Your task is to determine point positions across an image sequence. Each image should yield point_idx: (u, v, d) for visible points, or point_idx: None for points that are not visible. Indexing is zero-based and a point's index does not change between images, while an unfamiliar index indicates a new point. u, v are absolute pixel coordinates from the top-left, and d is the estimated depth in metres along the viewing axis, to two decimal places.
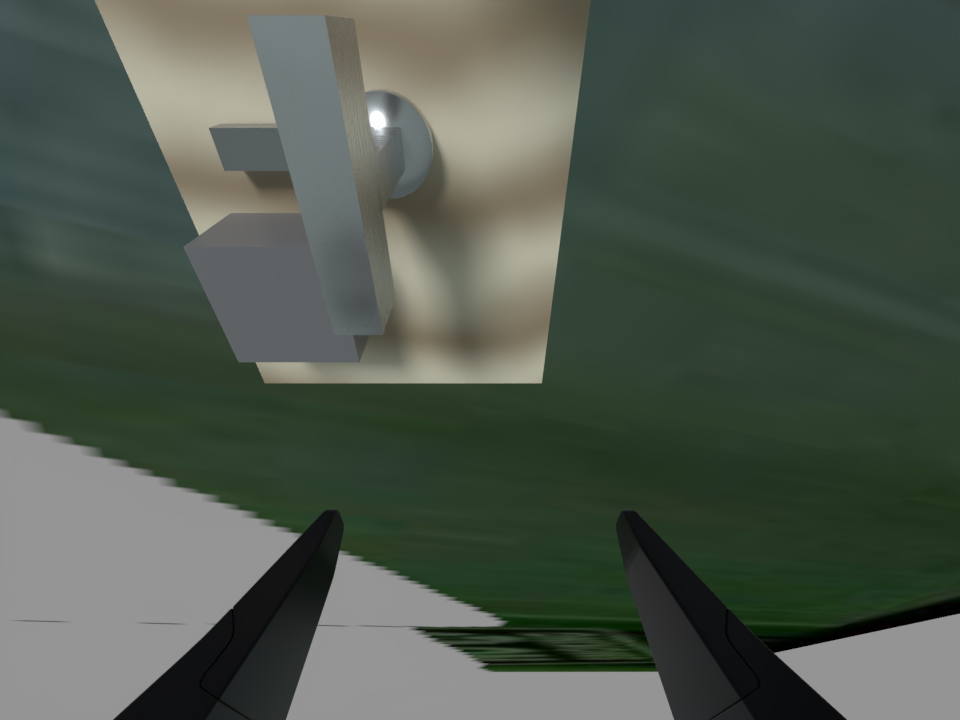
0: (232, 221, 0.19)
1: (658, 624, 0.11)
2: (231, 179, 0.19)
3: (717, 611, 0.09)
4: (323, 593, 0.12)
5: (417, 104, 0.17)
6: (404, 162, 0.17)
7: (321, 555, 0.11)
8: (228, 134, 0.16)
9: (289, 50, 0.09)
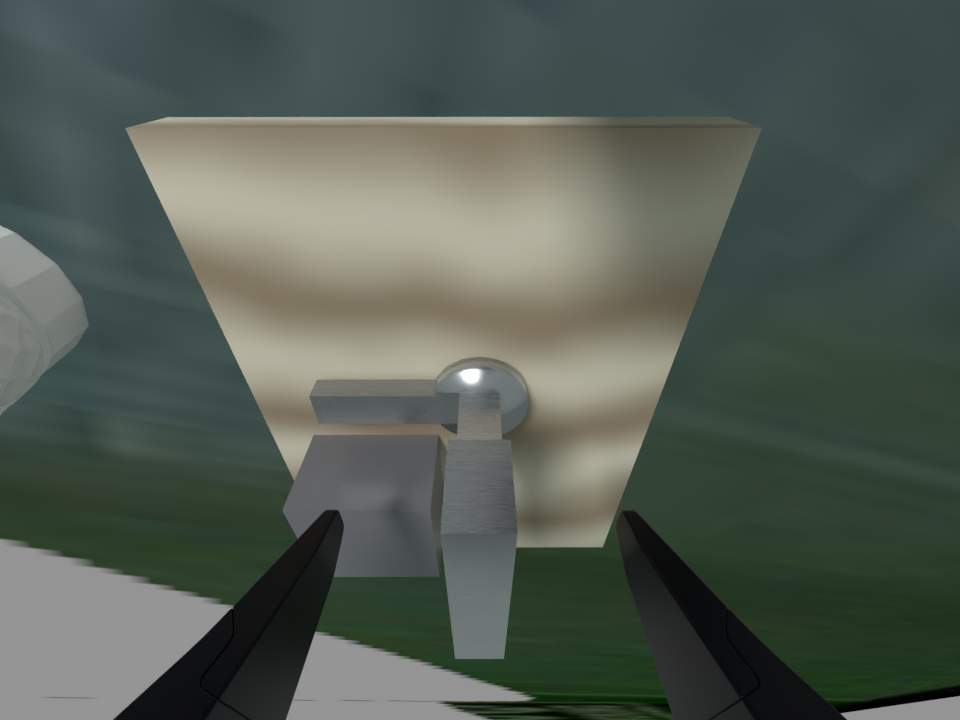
0: (319, 453, 0.19)
1: (658, 624, 0.11)
2: None
3: (717, 611, 0.09)
4: (323, 593, 0.12)
5: (513, 363, 0.17)
6: None
7: (321, 555, 0.11)
8: (327, 400, 0.16)
9: (474, 547, 0.09)
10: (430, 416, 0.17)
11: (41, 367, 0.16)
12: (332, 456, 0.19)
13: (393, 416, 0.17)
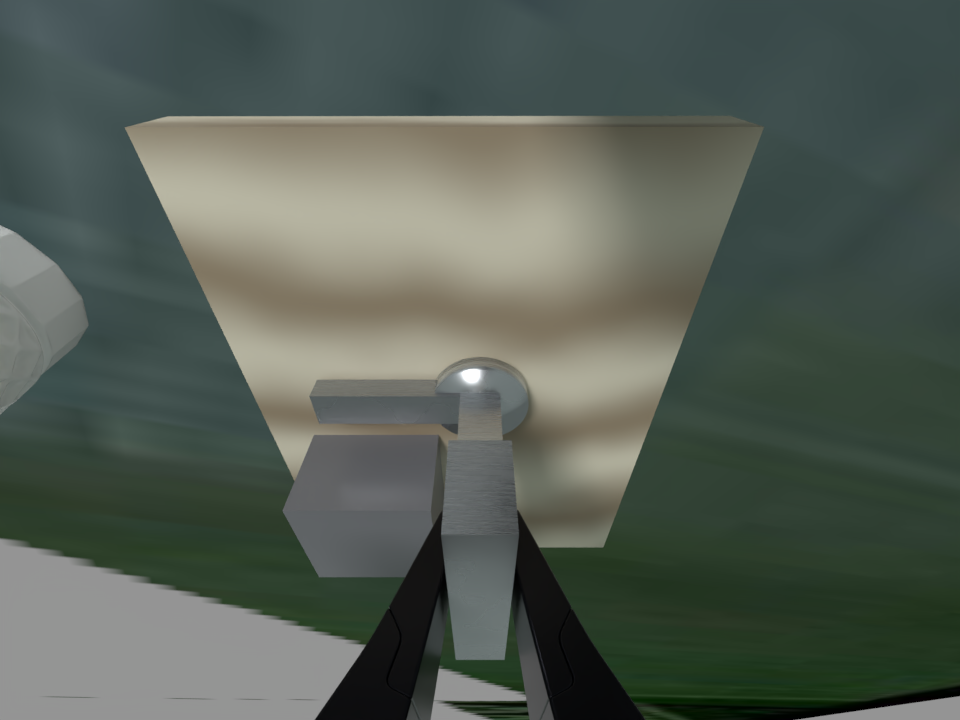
0: (319, 454, 0.19)
1: (518, 624, 0.11)
2: None
3: (559, 611, 0.09)
4: None
5: (514, 363, 0.17)
6: None
7: None
8: (328, 400, 0.16)
9: (475, 548, 0.09)
10: (430, 416, 0.17)
11: (41, 367, 0.16)
12: (332, 456, 0.19)
13: (393, 416, 0.17)
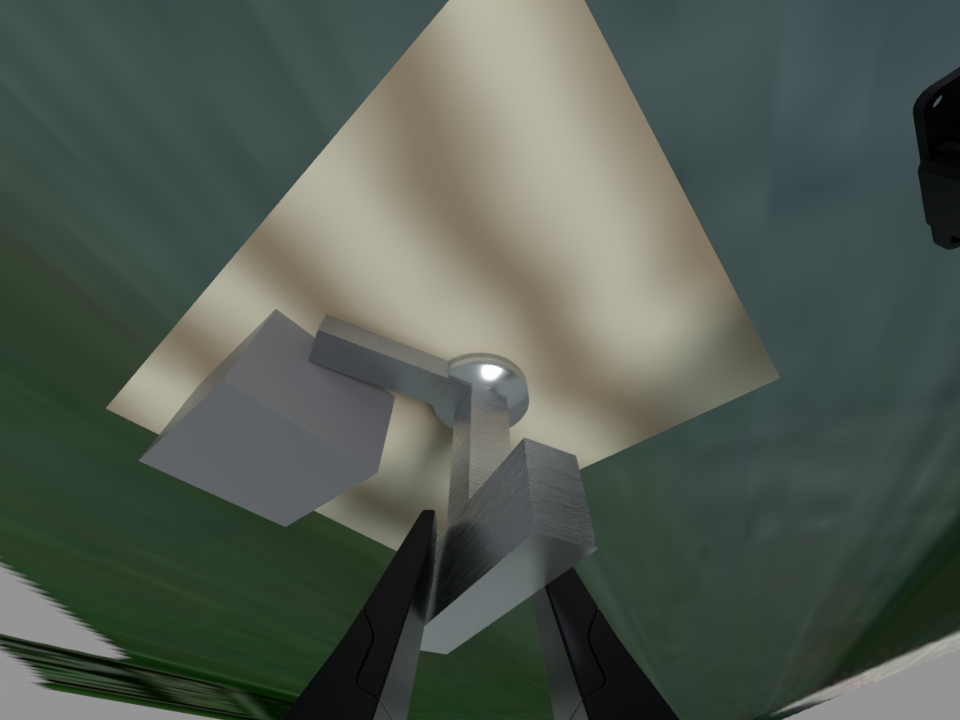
0: (278, 337, 0.15)
1: (542, 624, 0.11)
2: (316, 288, 0.15)
3: (586, 611, 0.09)
4: (428, 593, 0.12)
5: None
6: None
7: (429, 555, 0.11)
8: (335, 341, 0.15)
9: (547, 551, 0.09)
10: (430, 395, 0.16)
11: None
12: (292, 350, 0.15)
13: (394, 382, 0.16)
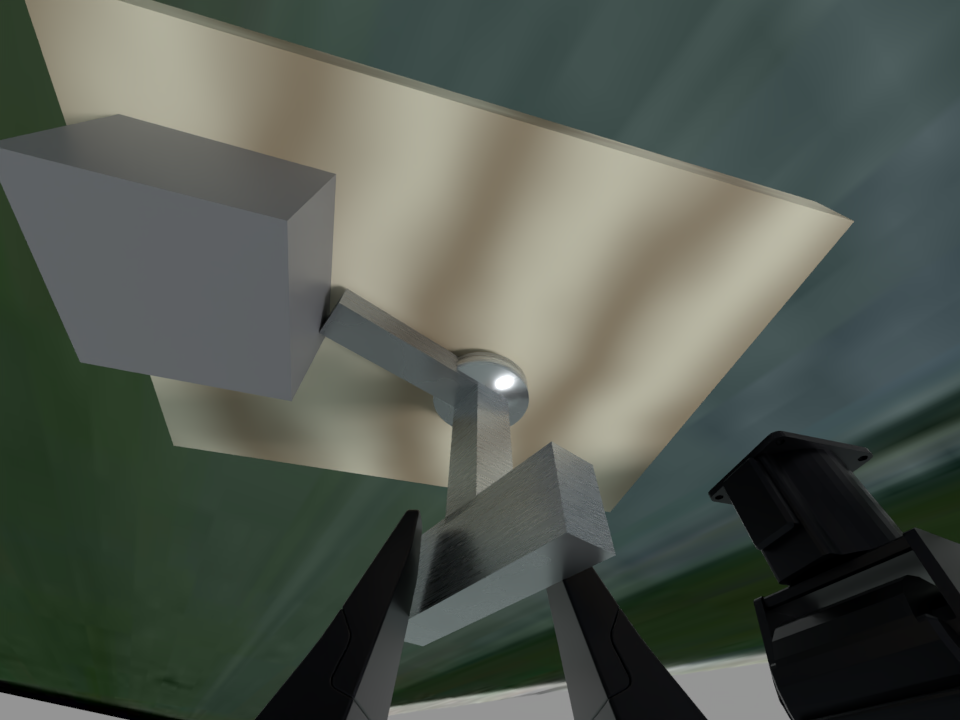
0: (324, 206, 0.12)
1: (561, 624, 0.11)
2: (493, 209, 0.13)
3: (608, 611, 0.09)
4: (411, 593, 0.12)
5: None
6: None
7: (412, 555, 0.11)
8: (354, 317, 0.14)
9: (569, 552, 0.09)
10: (435, 387, 0.16)
11: None
12: (321, 229, 0.12)
13: (401, 368, 0.16)
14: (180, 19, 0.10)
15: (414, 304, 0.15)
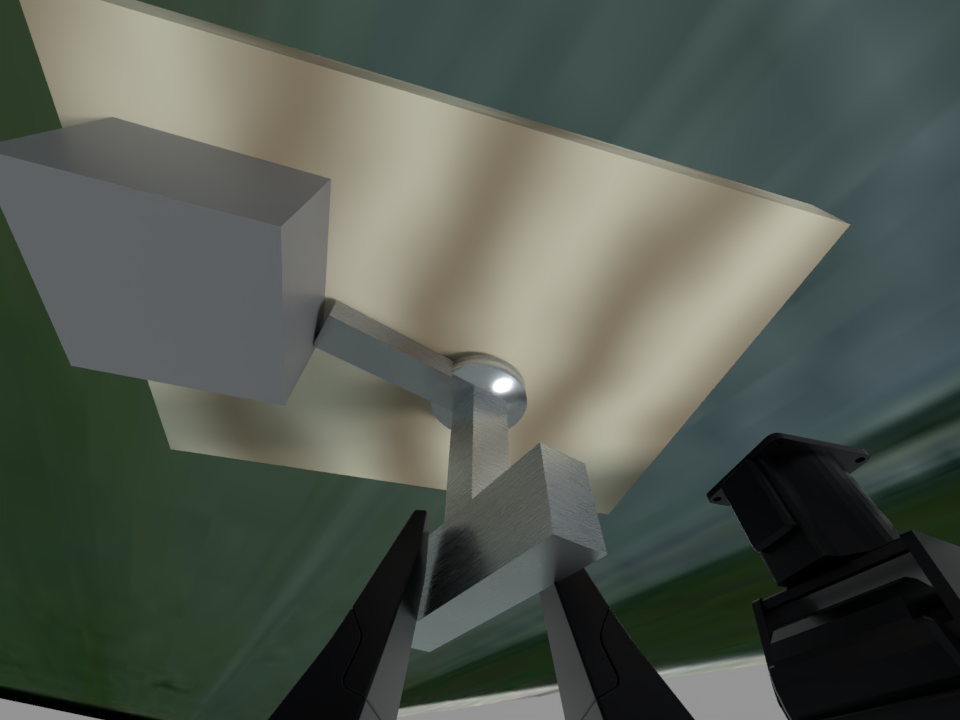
0: (318, 211, 0.12)
1: (553, 624, 0.11)
2: (491, 213, 0.13)
3: (598, 611, 0.09)
4: (419, 593, 0.12)
5: None
6: None
7: (420, 555, 0.11)
8: (345, 328, 0.14)
9: (560, 553, 0.09)
10: (431, 392, 0.16)
11: None
12: (316, 233, 0.12)
13: (397, 376, 0.16)
14: (177, 23, 0.10)
15: (412, 307, 0.15)
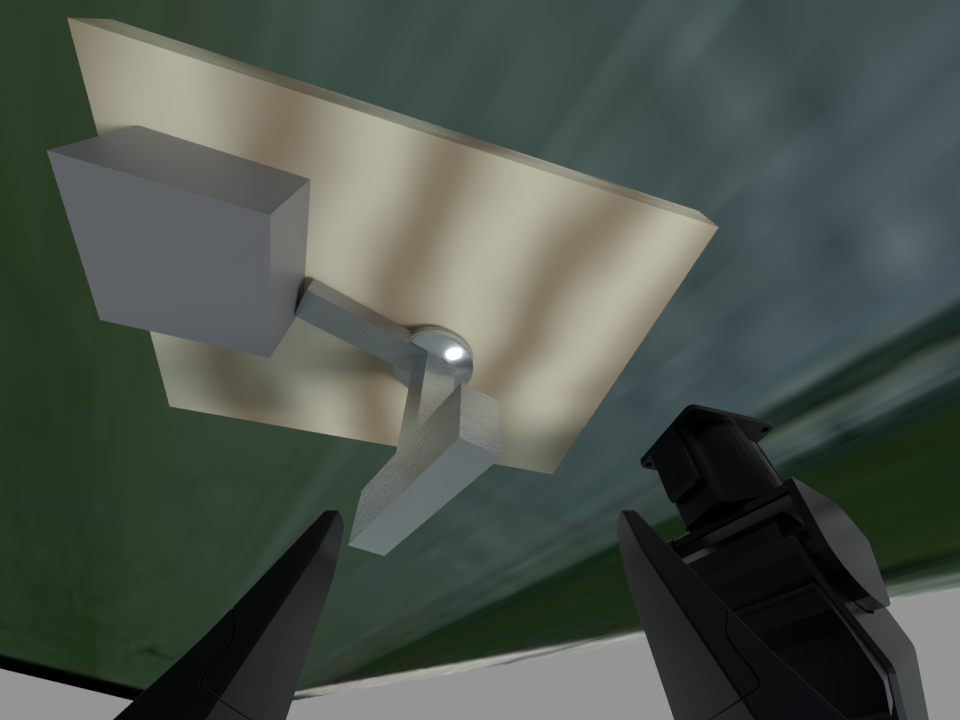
0: (299, 204, 0.15)
1: (658, 624, 0.11)
2: (438, 209, 0.17)
3: (717, 611, 0.09)
4: (323, 593, 0.12)
5: None
6: None
7: (321, 555, 0.11)
8: (320, 301, 0.18)
9: (467, 456, 0.13)
10: (393, 357, 0.20)
11: None
12: (297, 221, 0.16)
13: (364, 342, 0.19)
14: (193, 58, 0.13)
15: (377, 284, 0.19)
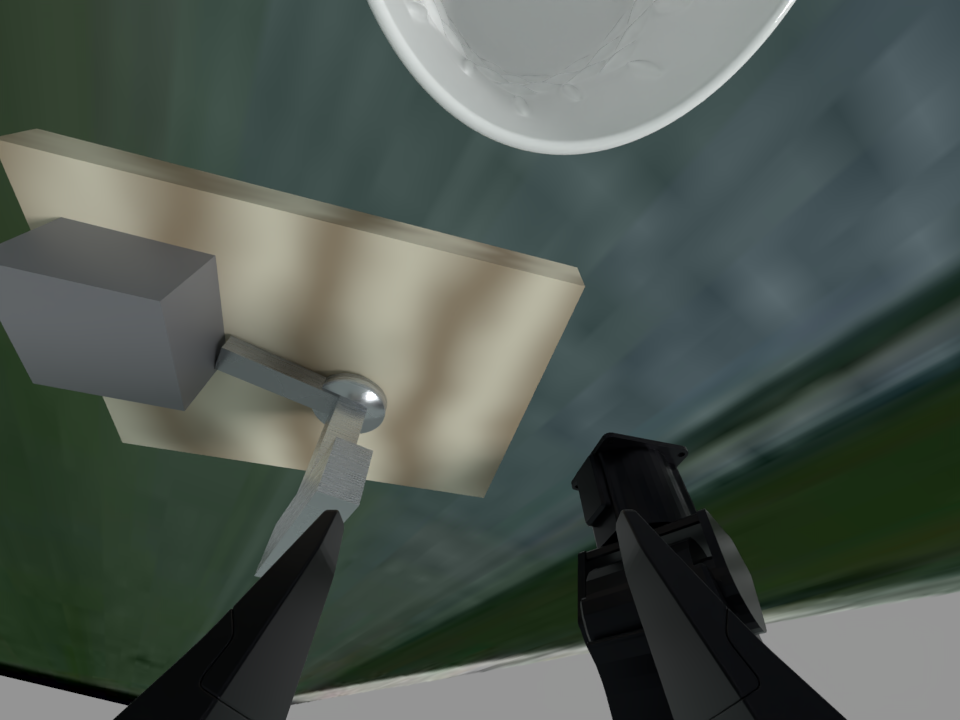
0: (203, 279, 0.18)
1: (658, 624, 0.11)
2: (331, 277, 0.19)
3: (717, 611, 0.09)
4: (323, 593, 0.12)
5: None
6: None
7: (321, 555, 0.11)
8: (235, 356, 0.20)
9: (329, 505, 0.15)
10: (309, 401, 0.22)
11: None
12: (203, 293, 0.18)
13: (280, 389, 0.21)
14: (100, 165, 0.16)
15: (290, 339, 0.21)
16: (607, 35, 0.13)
